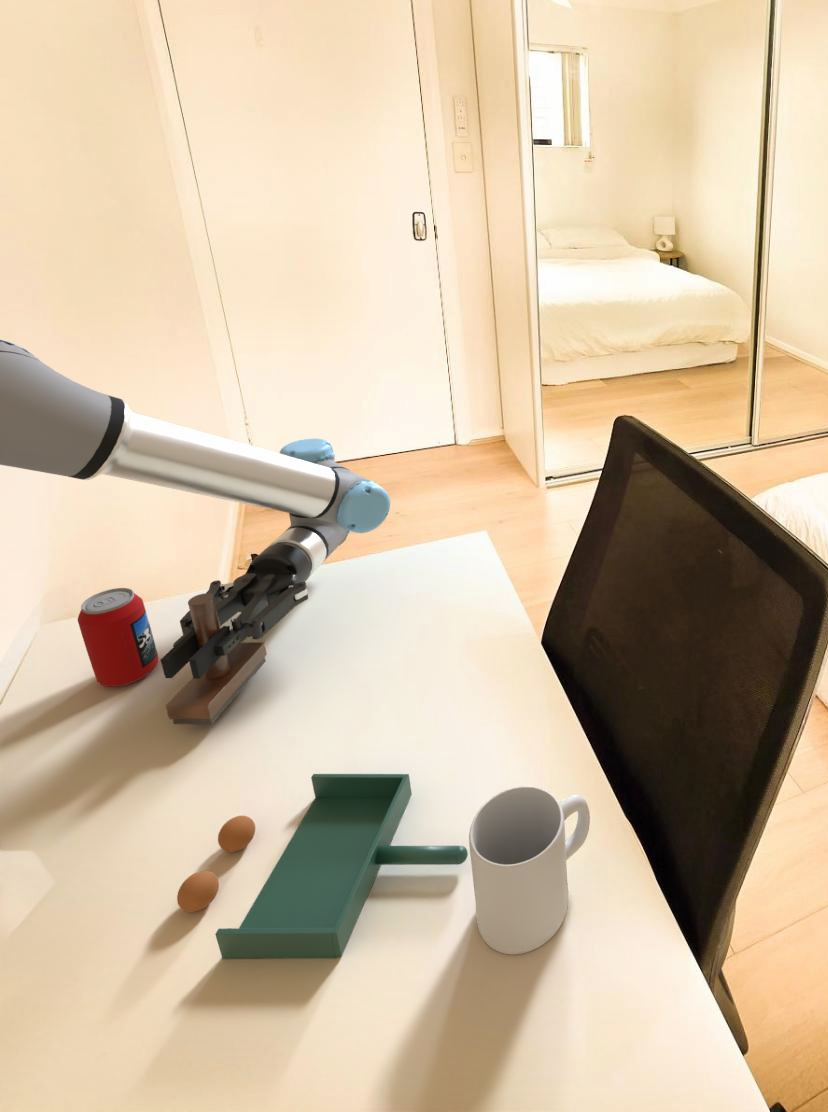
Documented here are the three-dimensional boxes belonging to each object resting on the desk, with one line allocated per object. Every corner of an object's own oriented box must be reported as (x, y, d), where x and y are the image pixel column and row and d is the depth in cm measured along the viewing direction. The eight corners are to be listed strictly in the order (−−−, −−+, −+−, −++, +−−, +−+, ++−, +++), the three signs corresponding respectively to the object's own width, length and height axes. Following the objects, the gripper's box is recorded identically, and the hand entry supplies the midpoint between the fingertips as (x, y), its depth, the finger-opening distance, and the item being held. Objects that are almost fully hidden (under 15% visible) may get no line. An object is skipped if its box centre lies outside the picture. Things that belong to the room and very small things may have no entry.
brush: (170, 725, 84) (144, 629, 79) (231, 659, 95) (211, 572, 91) (212, 725, 84) (188, 629, 79) (268, 660, 95) (250, 572, 91)
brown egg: (173, 920, 64) (165, 896, 63) (195, 886, 67) (188, 862, 66) (208, 920, 64) (200, 895, 63) (229, 886, 67) (222, 862, 66)
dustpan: (222, 959, 61) (214, 934, 60) (317, 795, 77) (313, 773, 76) (441, 957, 62) (437, 932, 61) (490, 795, 78) (488, 773, 77)
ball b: (214, 859, 70) (207, 836, 69) (233, 831, 73) (227, 808, 72) (246, 859, 70) (240, 836, 69) (264, 830, 73) (258, 808, 72)
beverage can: (169, 669, 95) (149, 595, 91) (109, 698, 90) (85, 621, 86) (147, 651, 99) (127, 579, 95) (89, 678, 93) (65, 603, 89)
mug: (507, 978, 60) (499, 888, 57) (460, 907, 66) (450, 822, 62) (614, 885, 69) (613, 801, 65) (564, 829, 74) (561, 750, 70)
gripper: (343, 585, 105) (252, 695, 83) (239, 584, 105) (120, 694, 83) (336, 542, 103) (241, 643, 81) (229, 541, 102) (104, 642, 80)
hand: (180, 668), depth 82 cm, fingers closed on brush, 3 cm apart
